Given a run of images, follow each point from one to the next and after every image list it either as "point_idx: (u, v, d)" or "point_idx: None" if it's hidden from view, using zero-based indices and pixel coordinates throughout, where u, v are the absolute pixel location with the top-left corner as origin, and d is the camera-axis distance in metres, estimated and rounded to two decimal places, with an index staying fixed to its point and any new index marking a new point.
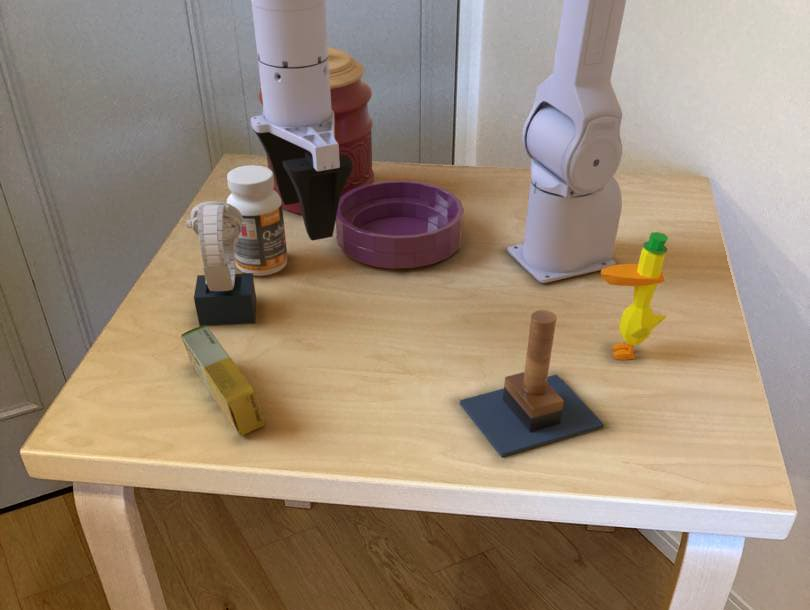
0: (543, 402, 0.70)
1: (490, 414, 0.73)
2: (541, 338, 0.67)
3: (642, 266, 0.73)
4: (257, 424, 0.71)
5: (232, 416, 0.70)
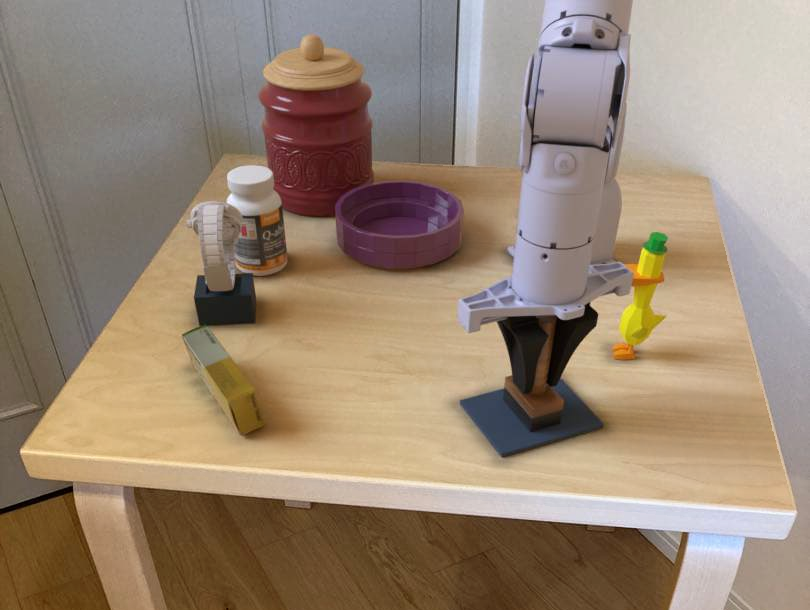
0: (543, 402, 0.70)
1: (490, 414, 0.73)
2: None
3: (642, 266, 0.73)
4: (257, 424, 0.71)
5: (233, 416, 0.70)
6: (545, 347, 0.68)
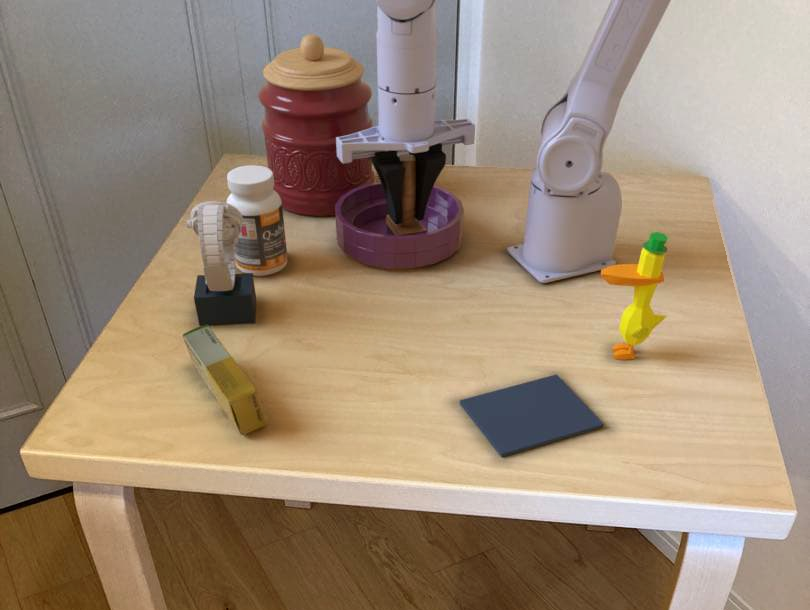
0: (410, 230, 0.91)
1: (490, 414, 0.73)
2: (404, 175, 0.88)
3: (642, 266, 0.73)
4: (258, 423, 0.71)
5: (234, 415, 0.70)
6: (408, 183, 0.88)
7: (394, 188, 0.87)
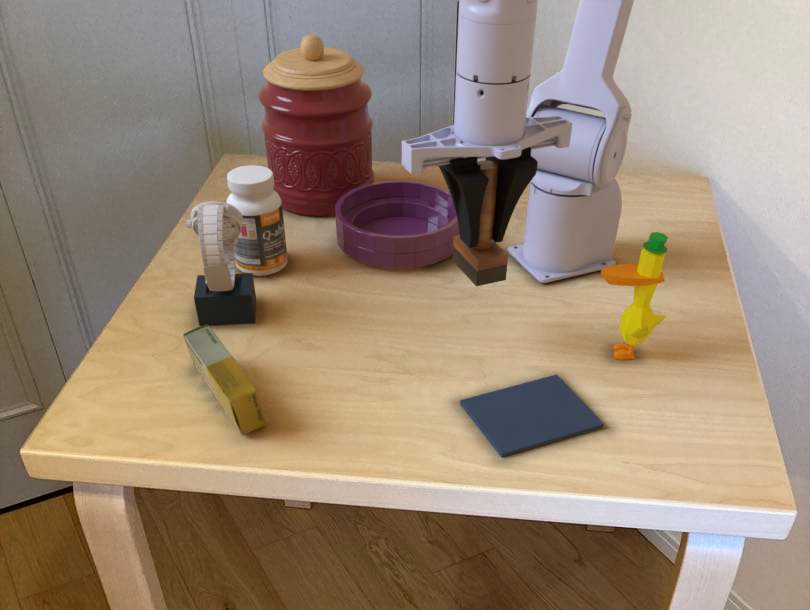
0: (488, 255, 0.73)
1: (490, 414, 0.73)
2: None
3: (642, 266, 0.73)
4: (259, 423, 0.71)
5: (234, 415, 0.70)
6: (488, 197, 0.70)
7: (472, 204, 0.69)
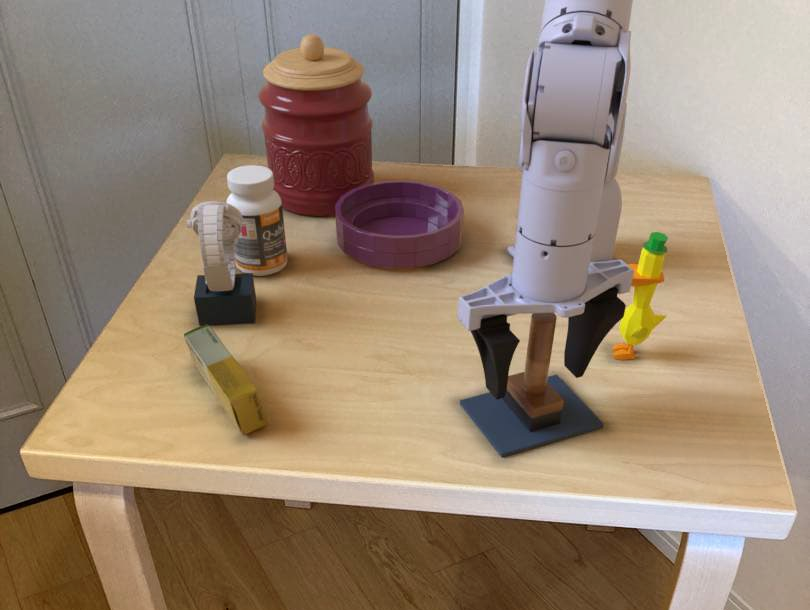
0: (543, 402, 0.70)
1: (490, 414, 0.73)
2: (541, 338, 0.67)
3: (642, 266, 0.73)
4: (259, 423, 0.71)
5: (235, 415, 0.70)
6: (545, 347, 0.68)
7: (501, 362, 0.66)
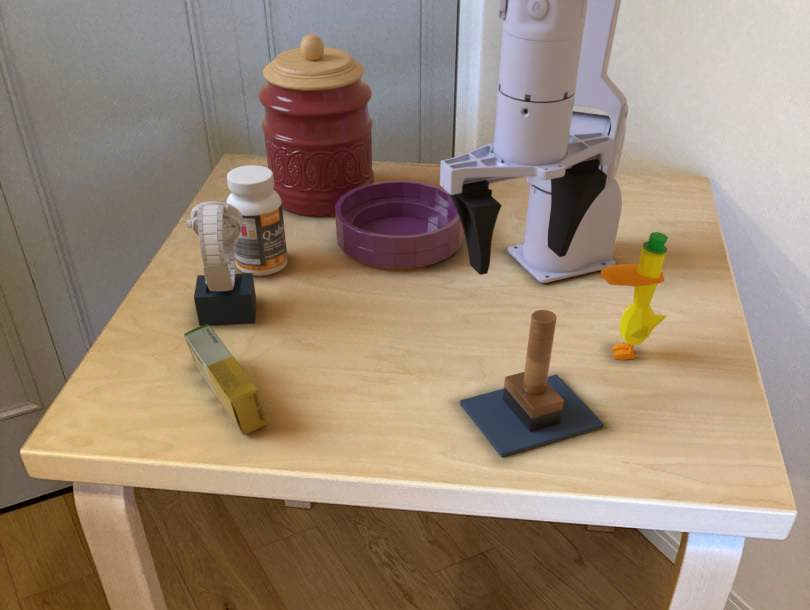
0: (543, 402, 0.70)
1: (490, 414, 0.73)
2: (541, 338, 0.67)
3: (642, 266, 0.73)
4: (260, 423, 0.71)
5: (235, 415, 0.70)
6: (545, 347, 0.68)
7: (484, 230, 0.66)
